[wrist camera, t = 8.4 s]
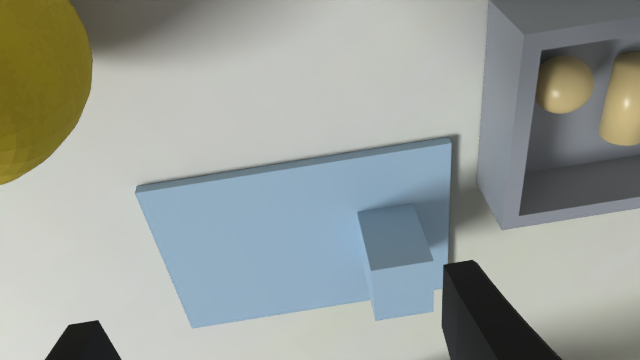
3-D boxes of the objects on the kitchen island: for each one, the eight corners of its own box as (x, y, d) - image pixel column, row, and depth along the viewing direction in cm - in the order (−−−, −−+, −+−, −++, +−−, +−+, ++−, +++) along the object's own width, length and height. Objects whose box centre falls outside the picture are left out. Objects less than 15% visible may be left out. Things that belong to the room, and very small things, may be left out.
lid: (441, 272, 28) (468, 346, 24) (193, 312, 28) (185, 391, 24) (444, 129, 22) (480, 197, 19) (138, 178, 22) (118, 254, 19)
